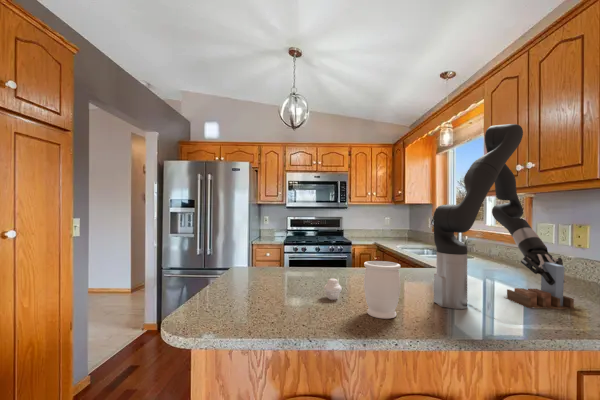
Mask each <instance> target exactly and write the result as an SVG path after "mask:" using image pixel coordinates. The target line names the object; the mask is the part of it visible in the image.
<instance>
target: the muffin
mask: <svg viewBox="0 0 600 400" xmlns="http://www.w3.org/2000/svg"><path fill="white" fill-rule="evenodd" d="M323 290H324V292H325V295H326V297H327V298H328V300H330V301H331V300H332V301H333V300H334V301H335V300H338V299H339V296H340V295H341V293H342V290H343V288H342V285H340V283H339V280H338V279H336V278H329V279H328V280H327V283H326V284H325V285H324V287H323Z"/></svg>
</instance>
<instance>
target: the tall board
mask: <svg viewBox="0 0 600 400" xmlns="http://www.w3.org/2000/svg"><path fill="white" fill-rule="evenodd" d="M544 264H545V267H546V269H547V270H548V272H549V273H550V275H551V276H552V278H553V279H554V281H555V283H554V284H553V285H549V284H548V283H547V282H546V280H545V279H544V277H543V276H541V275H540V276H541V277H540V278H541V280H540V281H541V282H540V290H542V291H545V292H548V293H551V296H554V297H557V298H560V306H563V296H564V291H565V290H564V288H565V285H564V284H565V265H563V266H562V265H558V264H554V263H550V262H544Z"/></svg>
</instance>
